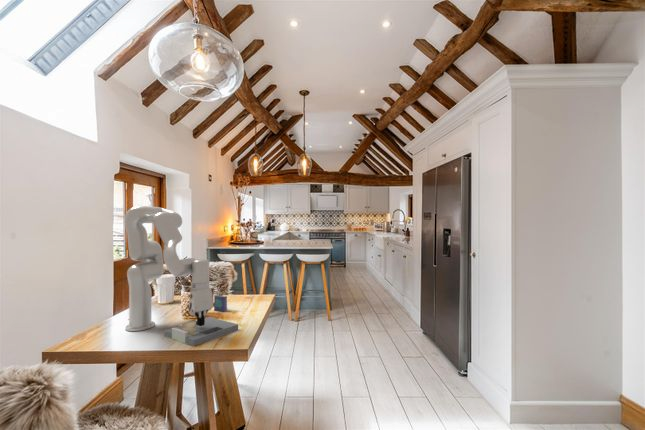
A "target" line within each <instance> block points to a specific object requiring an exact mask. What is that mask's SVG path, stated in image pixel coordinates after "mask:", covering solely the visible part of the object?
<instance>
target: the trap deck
mask: <svg viewBox="0 0 645 430" xmlns="http://www.w3.org/2000/svg"><path fill="white" fill-rule="evenodd" d="M238 330H239V324H238V323H233V322H231V321H226V320H223V319H219V318H215V317H211V316H207V317H205V322H204V325H202V326H198V325H197V320H196V333H194V334H191V335H188V332H186V331H183V330H182V324H181V325H178V326H175V327H172V328H168V329H164V335H163V336H164V337H167V338H169V339H172V340H174V341H177V342H180V343H183V344H186V345H188V346H192V347H196V346H198V345H201V344H204V343H206V342H209V341H211V340H214V339H217V338H219V337H222V336H224V335H227V334H230V333H233V332H235V331H238Z"/></svg>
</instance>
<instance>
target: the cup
mask: <svg viewBox="0 0 645 430" xmlns="http://www.w3.org/2000/svg"><path fill="white" fill-rule="evenodd" d="M175 283H176V276H174V275H172V274H171V273H167V274H162V276H161V277H160V278H158V279H155V284H156V286H157V287H156V289H157V304H158V305H169V303H170V304H172V302H173V303H174V301H175Z"/></svg>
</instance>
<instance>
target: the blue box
mask: <svg viewBox="0 0 645 430" xmlns="http://www.w3.org/2000/svg"><path fill="white" fill-rule="evenodd" d="M222 294H223V292H218V293H217V294H213V311H215V312H222V313H226V312H228V295H222Z"/></svg>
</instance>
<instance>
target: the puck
mask: <svg viewBox="0 0 645 430" xmlns="http://www.w3.org/2000/svg"><path fill="white" fill-rule="evenodd" d="M196 321H197V319H185V320H182V321H181V325H182V330H183V331H186V332H188V335H191V334H194V333H196Z"/></svg>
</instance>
